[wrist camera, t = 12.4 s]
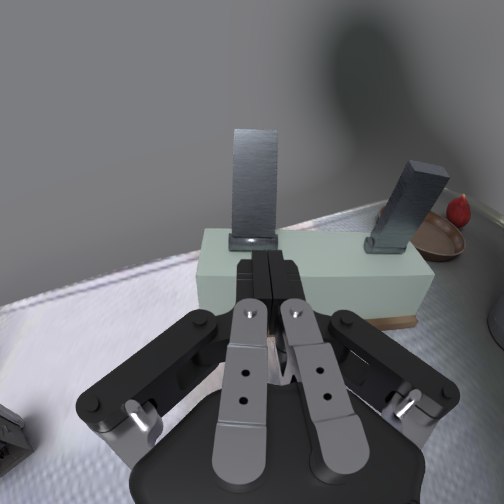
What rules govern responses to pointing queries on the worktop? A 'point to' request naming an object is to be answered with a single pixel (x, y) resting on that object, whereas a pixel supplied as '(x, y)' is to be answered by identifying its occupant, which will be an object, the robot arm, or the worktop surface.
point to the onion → (458, 212)
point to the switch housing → (323, 273)
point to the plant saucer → (437, 238)
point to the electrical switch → (12, 440)
